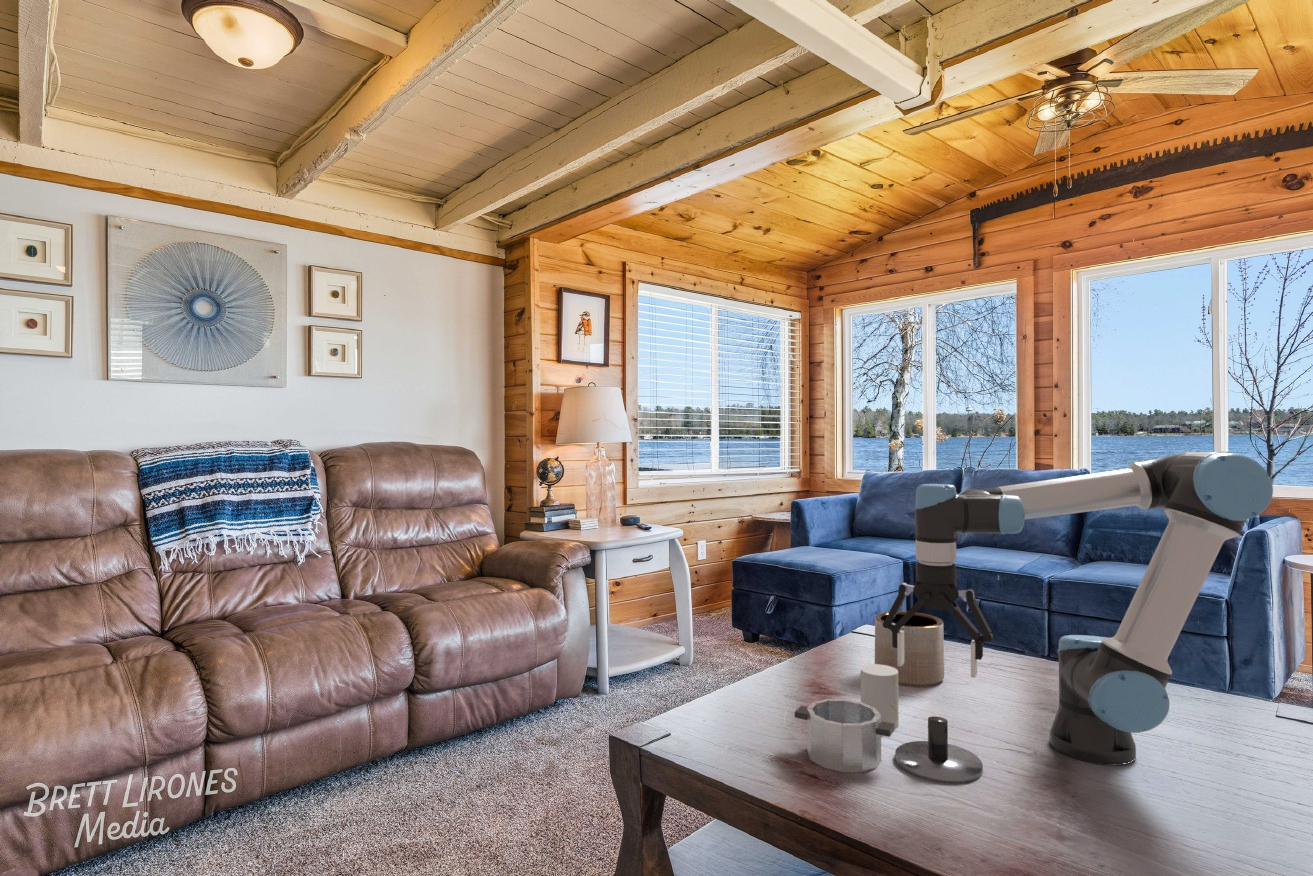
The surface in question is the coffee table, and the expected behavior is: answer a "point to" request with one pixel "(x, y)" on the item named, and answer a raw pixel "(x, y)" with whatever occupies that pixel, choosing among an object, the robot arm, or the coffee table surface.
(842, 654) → the coffee table surface
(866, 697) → the beige cylinder
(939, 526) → the robot arm
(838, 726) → the pot
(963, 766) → the lid
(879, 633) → the planter
